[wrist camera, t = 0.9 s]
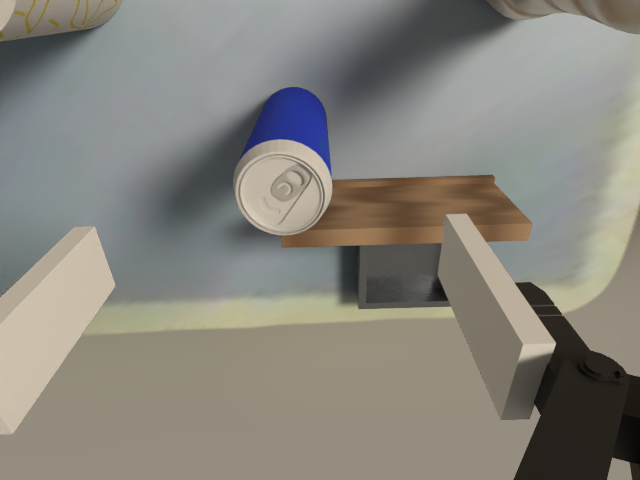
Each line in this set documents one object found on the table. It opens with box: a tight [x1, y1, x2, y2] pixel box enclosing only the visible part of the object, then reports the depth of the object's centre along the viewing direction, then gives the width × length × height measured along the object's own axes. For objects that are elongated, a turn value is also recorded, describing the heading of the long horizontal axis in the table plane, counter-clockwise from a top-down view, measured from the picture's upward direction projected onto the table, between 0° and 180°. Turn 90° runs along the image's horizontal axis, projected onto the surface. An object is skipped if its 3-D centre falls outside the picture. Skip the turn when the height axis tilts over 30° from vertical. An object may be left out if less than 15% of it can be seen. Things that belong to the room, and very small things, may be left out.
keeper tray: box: [356, 243, 451, 309], centre depth 39 cm, size 9×9×2 cm
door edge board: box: [281, 175, 532, 248], centre depth 33 cm, size 18×2×8 cm, turn 92°
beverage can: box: [233, 87, 332, 236], centre depth 27 cm, size 5×5×15 cm
